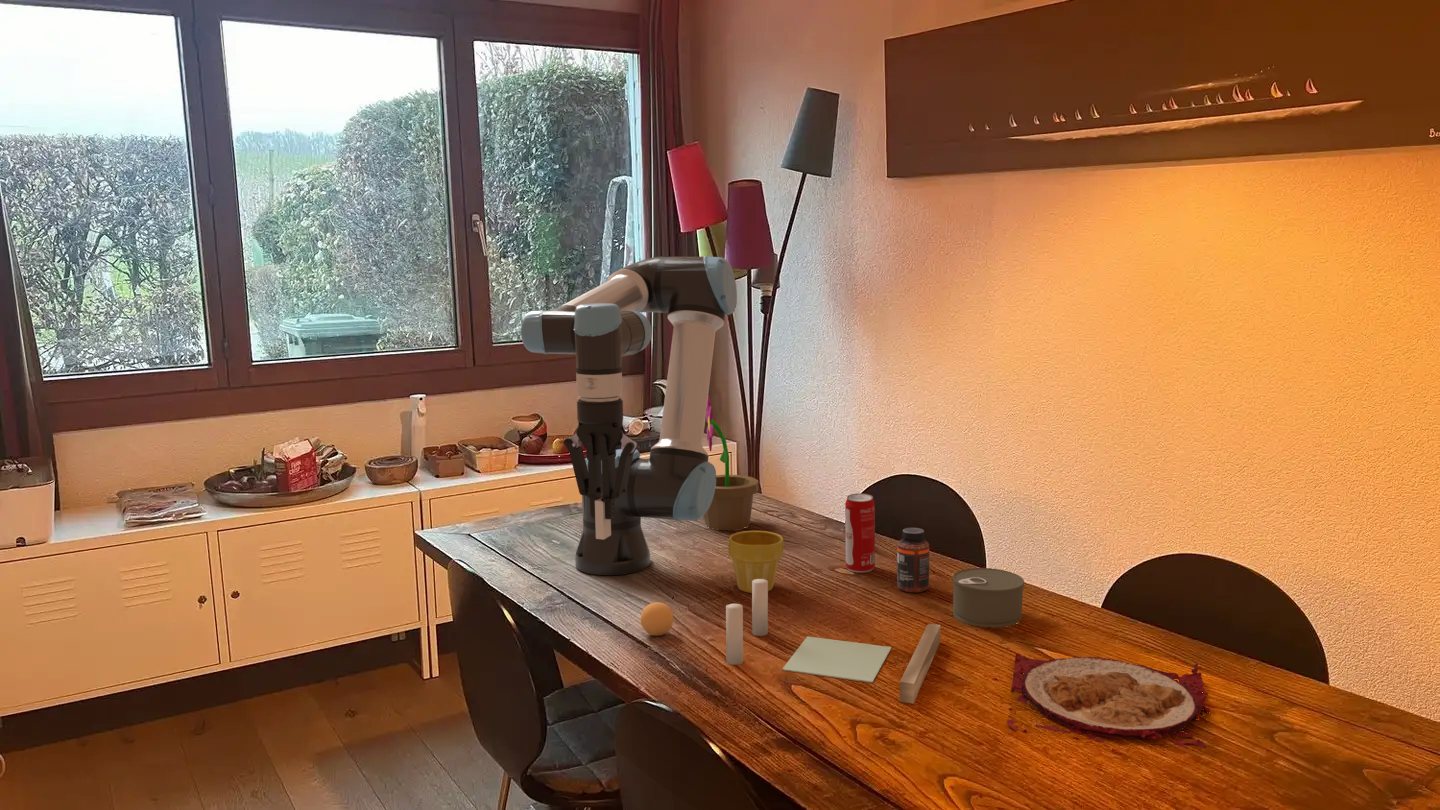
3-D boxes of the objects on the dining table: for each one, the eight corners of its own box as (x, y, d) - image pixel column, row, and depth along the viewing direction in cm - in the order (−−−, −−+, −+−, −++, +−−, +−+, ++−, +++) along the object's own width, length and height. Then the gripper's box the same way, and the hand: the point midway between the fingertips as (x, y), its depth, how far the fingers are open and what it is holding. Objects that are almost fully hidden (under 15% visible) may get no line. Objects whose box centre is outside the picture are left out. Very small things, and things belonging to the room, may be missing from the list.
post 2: (750, 634, 176) (749, 583, 174) (755, 629, 178) (754, 578, 177) (765, 636, 175) (764, 584, 173) (769, 631, 177) (769, 579, 176)
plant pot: (789, 581, 203) (789, 532, 201) (774, 599, 193) (774, 547, 191) (738, 576, 206) (738, 528, 204) (721, 593, 196) (720, 542, 195)
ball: (635, 638, 175) (634, 606, 174) (649, 626, 180) (648, 596, 179) (665, 642, 173) (665, 610, 172) (678, 630, 178) (678, 599, 177)
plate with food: (1015, 665, 165) (1015, 643, 164) (1200, 682, 156) (1201, 659, 156) (1005, 738, 142) (1006, 713, 141) (1222, 763, 133) (1223, 736, 133)
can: (1036, 624, 180) (1038, 585, 178) (973, 632, 176) (974, 593, 175) (999, 601, 191) (1000, 565, 190) (939, 608, 188) (940, 571, 186)
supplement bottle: (932, 585, 199) (933, 527, 198) (924, 595, 194) (925, 536, 192) (901, 581, 202) (902, 524, 200) (892, 591, 197) (893, 532, 195)
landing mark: (782, 670, 162) (782, 668, 161) (807, 637, 174) (807, 636, 174) (872, 682, 157) (872, 681, 157) (891, 648, 170) (891, 647, 170)
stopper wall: (899, 701, 150) (899, 681, 150) (927, 641, 172) (928, 623, 172) (913, 703, 150) (913, 683, 149) (940, 642, 172) (940, 624, 171)
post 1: (724, 663, 164) (723, 608, 163) (729, 657, 167) (729, 602, 165) (739, 665, 163) (739, 610, 162) (745, 659, 166) (744, 604, 164)
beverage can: (874, 564, 212) (875, 492, 210) (875, 574, 206) (876, 500, 204) (844, 563, 213) (845, 491, 211) (844, 574, 207) (845, 499, 204)
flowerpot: (693, 518, 249) (692, 392, 244) (754, 515, 250) (753, 390, 245) (699, 534, 235) (697, 401, 230) (763, 532, 236) (762, 400, 231)
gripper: (553, 399, 172) (558, 539, 176) (625, 403, 168) (629, 546, 171) (575, 393, 179) (579, 527, 183) (645, 396, 174) (648, 534, 178)
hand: (603, 536), depth 177 cm, fingers closed
